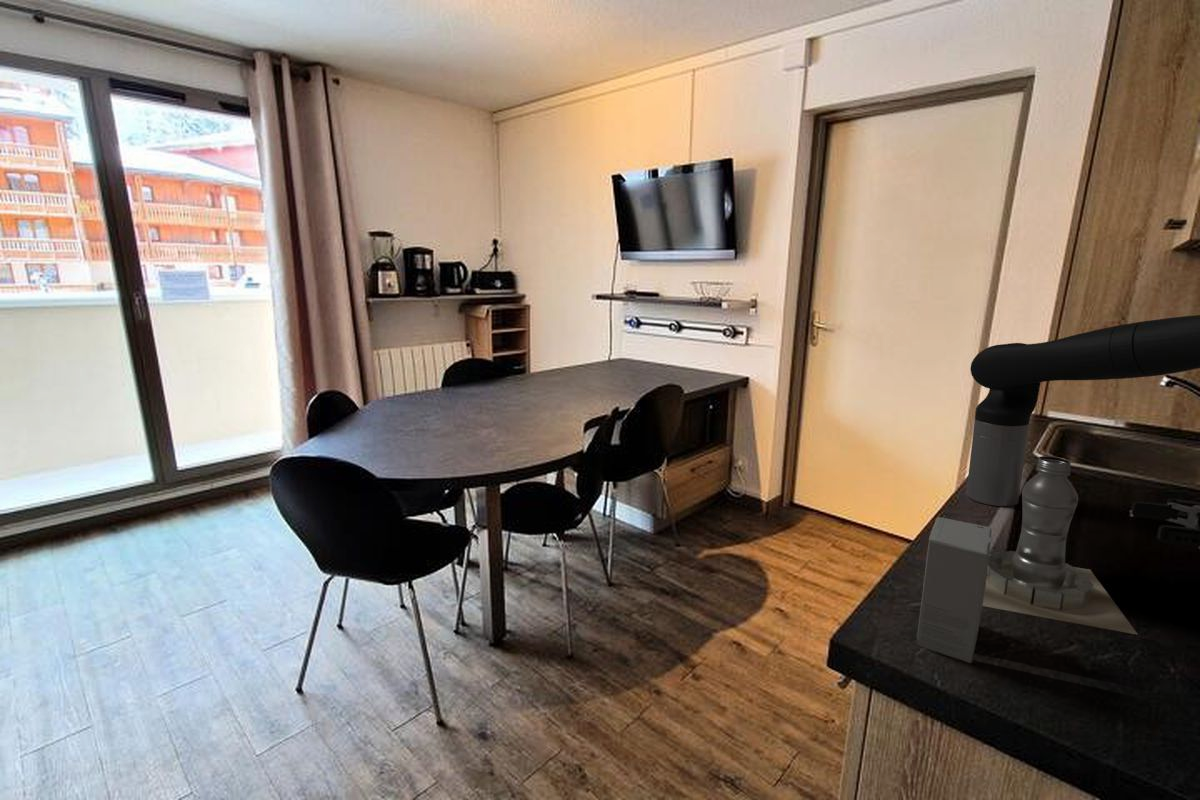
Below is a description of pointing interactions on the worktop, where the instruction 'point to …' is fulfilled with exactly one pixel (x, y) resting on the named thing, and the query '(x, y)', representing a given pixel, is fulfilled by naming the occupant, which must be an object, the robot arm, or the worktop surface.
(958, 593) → the skincare box
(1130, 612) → the worktop surface
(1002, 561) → the steel collar
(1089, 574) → the birch board
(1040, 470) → the plastic bottle
